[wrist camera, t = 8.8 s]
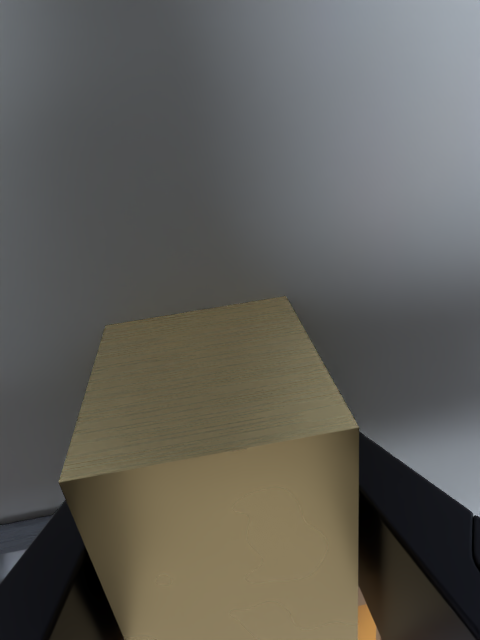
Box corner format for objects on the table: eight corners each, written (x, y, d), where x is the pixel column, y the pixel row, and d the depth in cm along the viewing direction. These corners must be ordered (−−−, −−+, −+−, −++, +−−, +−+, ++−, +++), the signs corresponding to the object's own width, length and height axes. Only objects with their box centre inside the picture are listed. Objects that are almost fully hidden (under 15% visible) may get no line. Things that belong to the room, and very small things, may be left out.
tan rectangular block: (284, 294, 9) (358, 427, 5) (299, 477, 11) (357, 656, 8) (105, 323, 9) (58, 482, 5) (158, 504, 11) (150, 701, 7)
